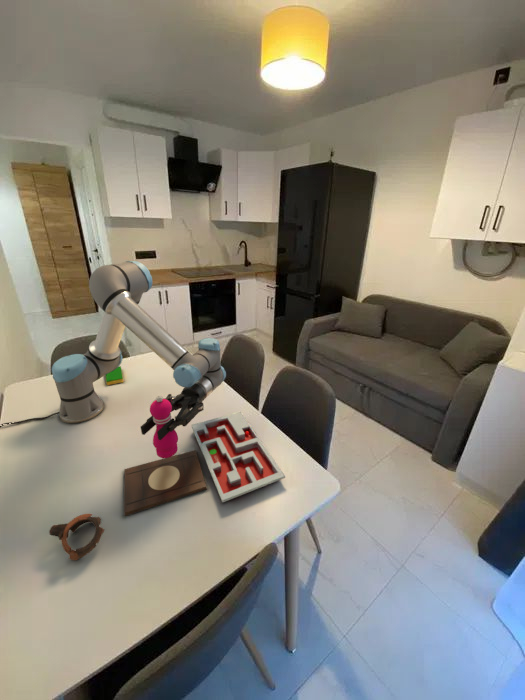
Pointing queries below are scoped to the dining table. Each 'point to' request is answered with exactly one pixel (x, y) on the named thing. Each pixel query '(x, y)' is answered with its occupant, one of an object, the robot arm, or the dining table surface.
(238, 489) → the maze game
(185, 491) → the board
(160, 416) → the pepper mill
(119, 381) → the dish sponge
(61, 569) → the dining table surface
